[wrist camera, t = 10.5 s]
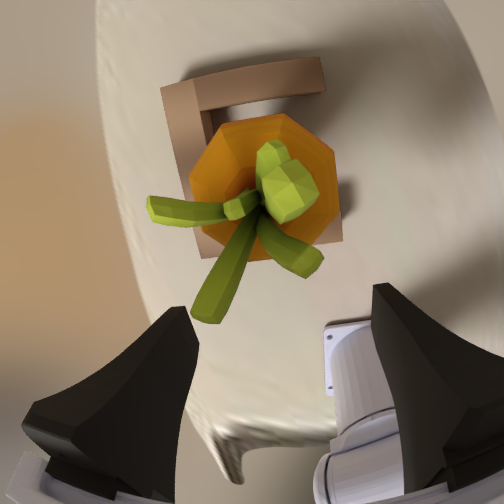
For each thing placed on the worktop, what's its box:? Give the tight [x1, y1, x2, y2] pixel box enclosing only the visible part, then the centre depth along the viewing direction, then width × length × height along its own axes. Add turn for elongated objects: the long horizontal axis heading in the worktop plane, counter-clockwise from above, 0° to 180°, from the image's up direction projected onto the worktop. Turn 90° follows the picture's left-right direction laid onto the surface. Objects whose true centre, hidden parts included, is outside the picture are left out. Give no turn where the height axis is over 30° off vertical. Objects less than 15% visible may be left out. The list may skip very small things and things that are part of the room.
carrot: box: [147, 113, 340, 324], centre depth 12 cm, size 5×5×15 cm
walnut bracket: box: [160, 57, 343, 259], centre depth 18 cm, size 11×9×2 cm
